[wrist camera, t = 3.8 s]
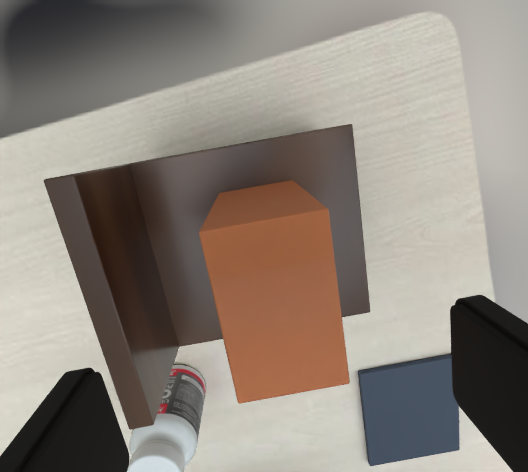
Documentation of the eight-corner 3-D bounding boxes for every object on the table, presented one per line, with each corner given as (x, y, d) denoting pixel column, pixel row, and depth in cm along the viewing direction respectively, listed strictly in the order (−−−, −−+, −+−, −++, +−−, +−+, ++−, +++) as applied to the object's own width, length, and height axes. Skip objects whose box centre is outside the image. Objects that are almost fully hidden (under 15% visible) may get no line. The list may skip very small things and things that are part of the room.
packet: (218, 192, 20) (198, 232, 11) (292, 179, 20) (328, 208, 11) (241, 300, 22) (238, 404, 13) (308, 288, 22) (350, 383, 13)
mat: (454, 353, 35) (457, 356, 34) (456, 445, 38) (459, 450, 38) (357, 370, 35) (359, 374, 34) (368, 461, 38) (370, 466, 38)
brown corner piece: (318, 129, 29) (403, 115, 13) (334, 263, 32) (418, 377, 16) (152, 159, 28) (42, 179, 13) (185, 290, 32) (129, 430, 16)
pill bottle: (171, 353, 33) (143, 436, 24) (217, 380, 34) (206, 470, 25) (141, 391, 34) (101, 485, 25) (186, 416, 35) (164, 516, 26)
